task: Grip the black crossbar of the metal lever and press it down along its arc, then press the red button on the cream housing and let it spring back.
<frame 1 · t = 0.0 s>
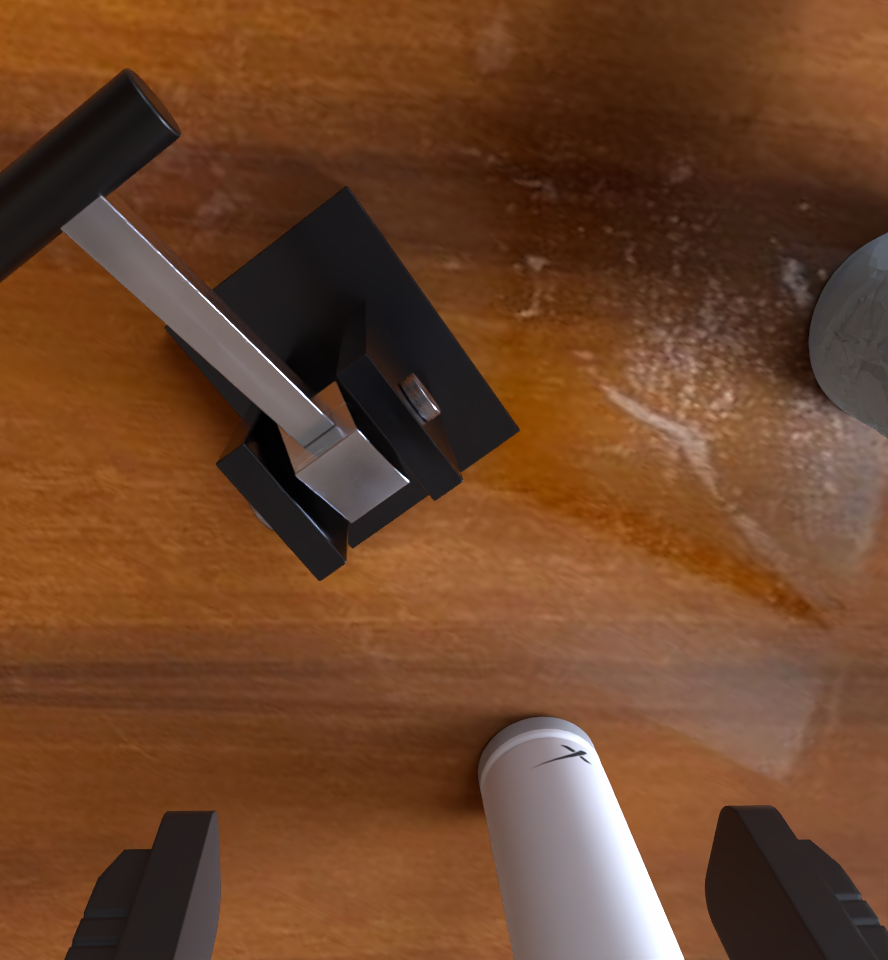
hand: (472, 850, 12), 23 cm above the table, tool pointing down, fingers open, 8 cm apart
lever: (237, 352, 19), point 13 cm above the table, hinge at 28.0°
travel mug: (534, 759, 41), on the table
bracket: (350, 375, 33), on the table
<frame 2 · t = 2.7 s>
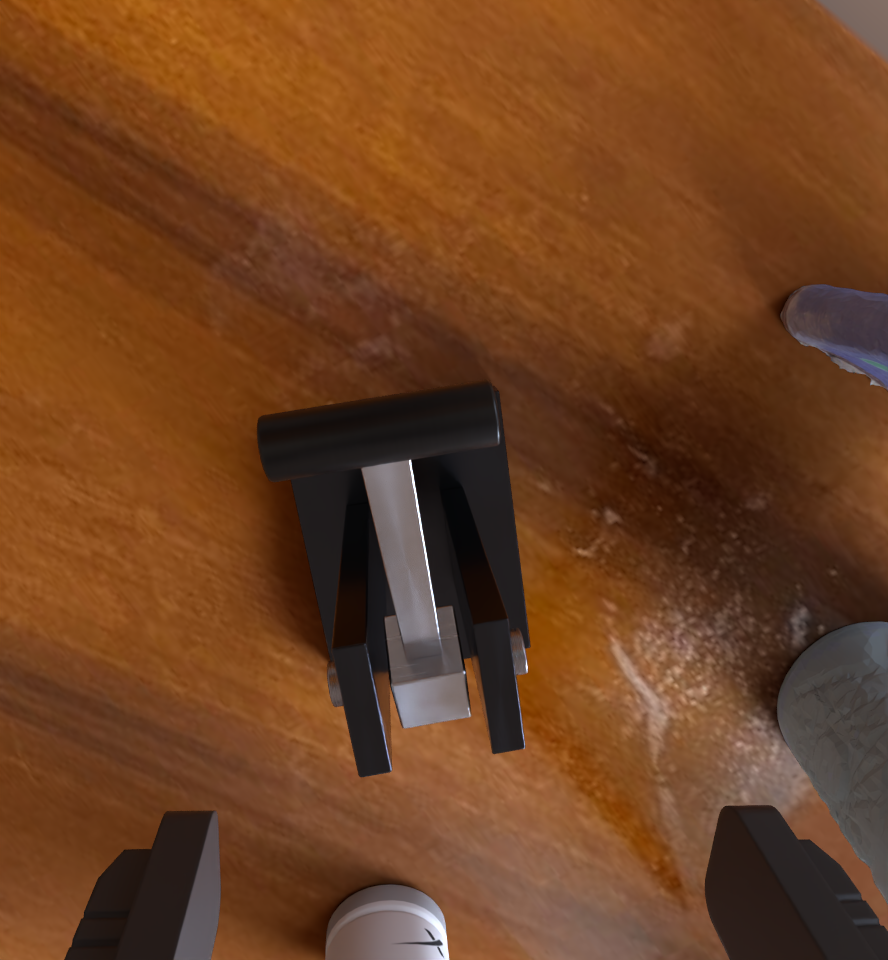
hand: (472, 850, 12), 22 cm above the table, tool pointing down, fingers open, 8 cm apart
lever: (409, 577, 20), point 13 cm above the table, hinge at 28.0°
travel mug: (385, 922, 41), on the table
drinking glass: (850, 695, 39), on the table
blue squeeze pouch: (865, 346, 34), on the table
bracket: (411, 533, 34), on the table
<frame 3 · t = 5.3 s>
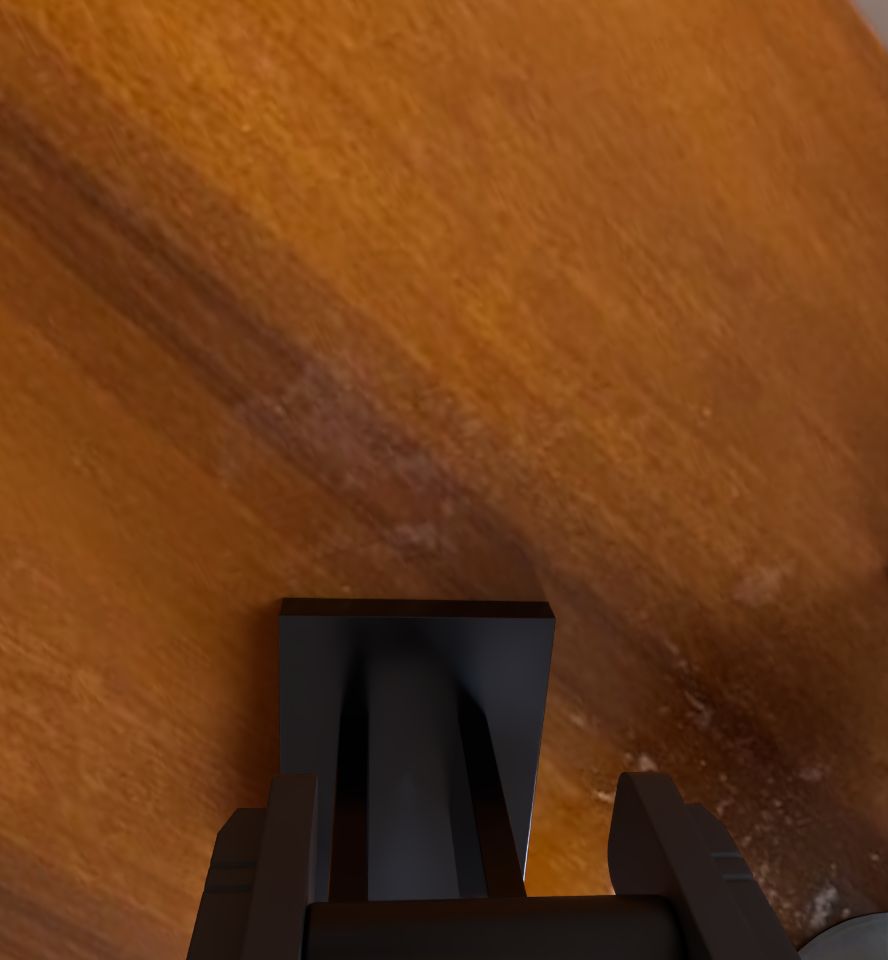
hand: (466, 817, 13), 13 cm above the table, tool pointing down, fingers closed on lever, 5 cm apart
bracket: (409, 747, 28), on the table
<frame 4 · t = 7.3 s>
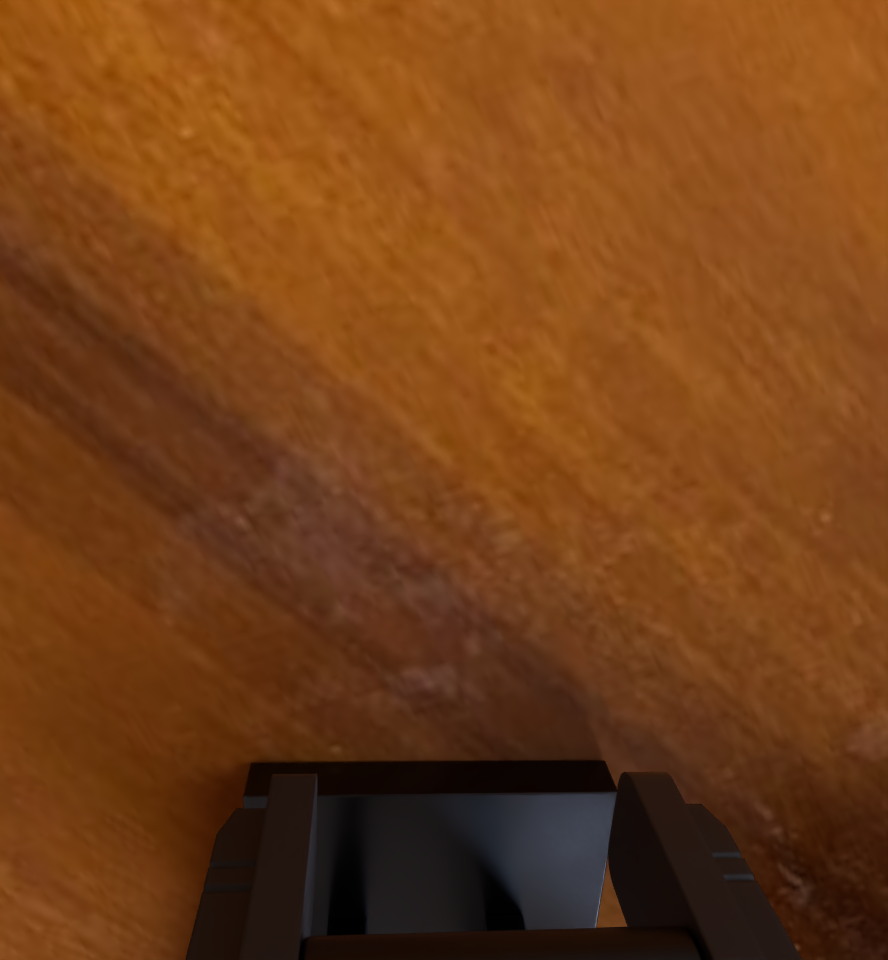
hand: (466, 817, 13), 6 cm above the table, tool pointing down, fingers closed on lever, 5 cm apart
bracket: (419, 939, 21), on the table
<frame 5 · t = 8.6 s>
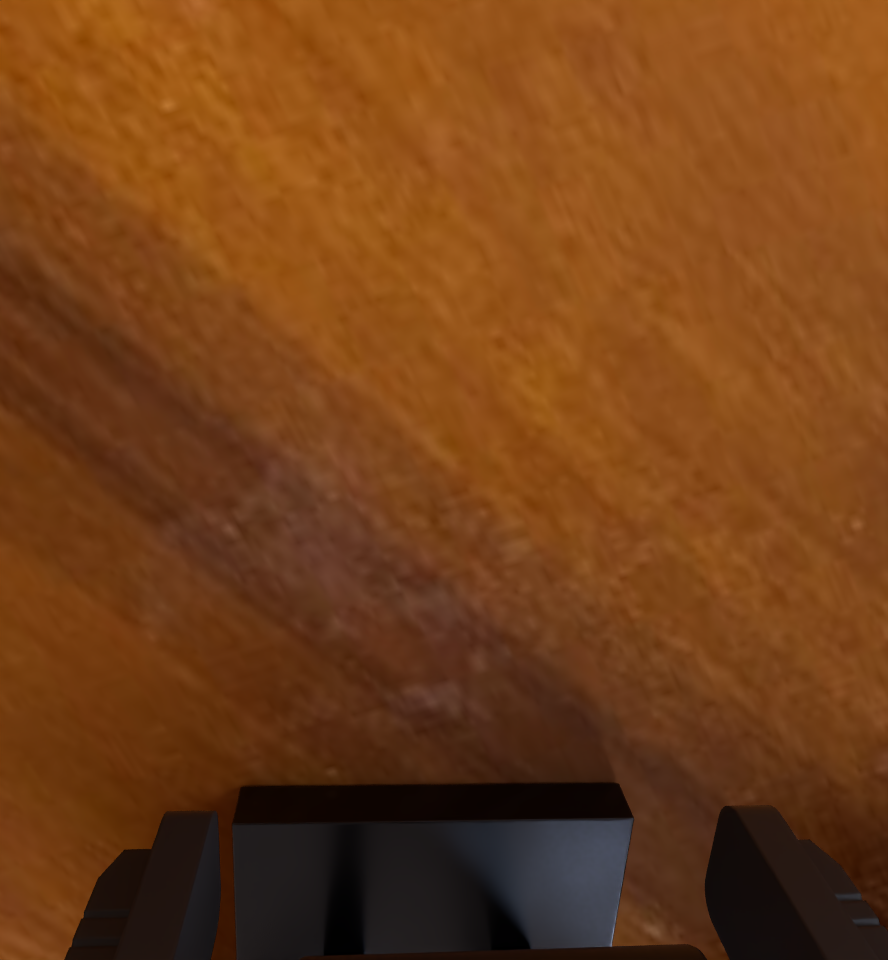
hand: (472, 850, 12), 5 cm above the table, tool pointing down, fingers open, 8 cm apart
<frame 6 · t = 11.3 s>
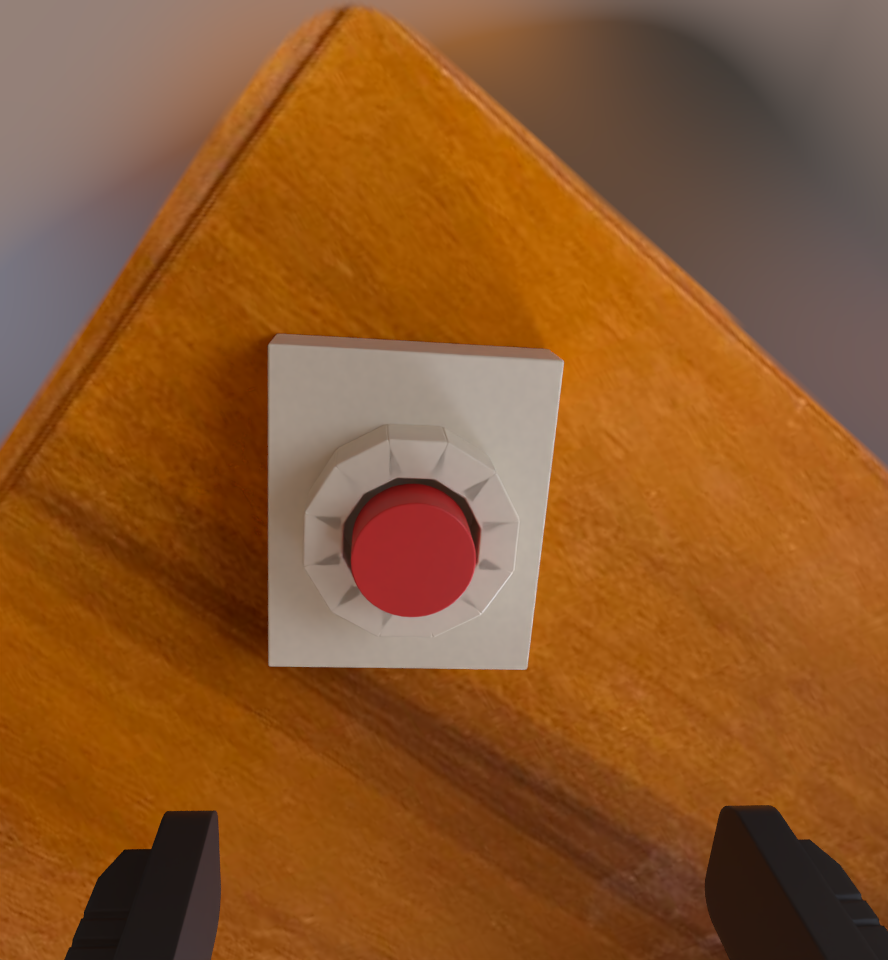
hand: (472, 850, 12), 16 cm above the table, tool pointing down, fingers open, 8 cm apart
button box: (406, 498, 27), on the table
button: (412, 549, 23), point 4 cm above the table, slide at 0.1 cm
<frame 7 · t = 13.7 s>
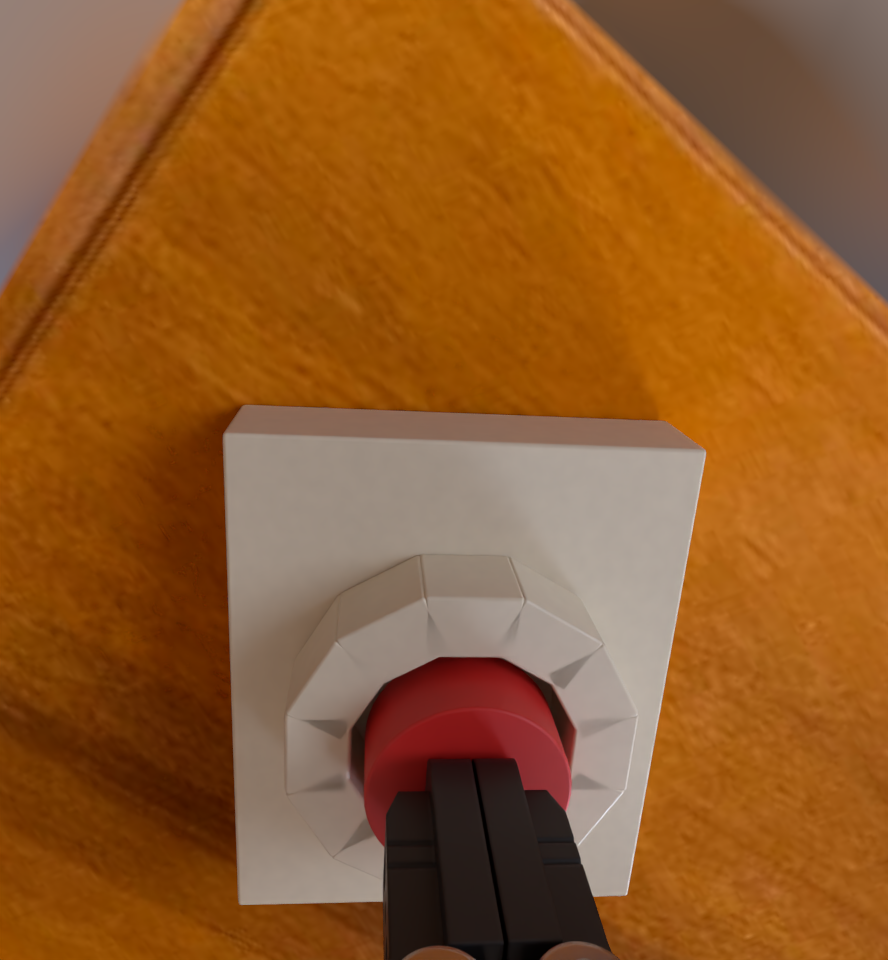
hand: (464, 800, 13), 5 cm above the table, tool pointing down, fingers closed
button box: (444, 641, 18), on the table
button: (463, 762, 14), point 4 cm above the table, slide at -0.2 cm, touching gripper
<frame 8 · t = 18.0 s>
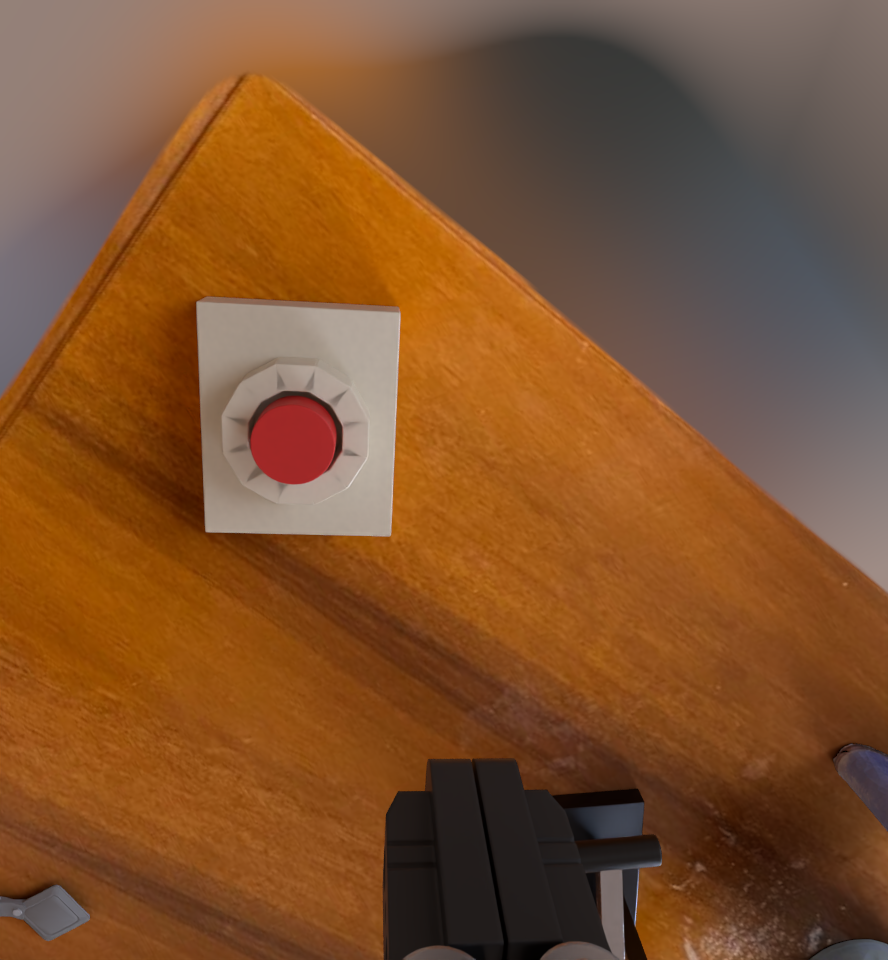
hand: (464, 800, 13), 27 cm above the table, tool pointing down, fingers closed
button box: (303, 414, 38), on the table
lever: (611, 957, 39), point 10 cm above the table, hinge at -15.2°
blue squeeze pouch: (886, 777, 49), on the table
bracket: (563, 870, 49), on the table
button: (294, 439, 34), point 4 cm above the table, slide at 0.1 cm
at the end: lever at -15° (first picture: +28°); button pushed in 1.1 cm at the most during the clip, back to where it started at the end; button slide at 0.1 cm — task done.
